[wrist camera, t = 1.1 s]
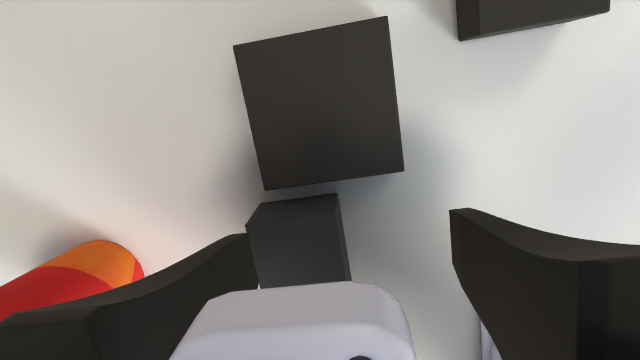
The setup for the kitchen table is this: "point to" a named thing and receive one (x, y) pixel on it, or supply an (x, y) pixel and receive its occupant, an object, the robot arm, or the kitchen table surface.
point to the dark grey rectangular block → (520, 15)
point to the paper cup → (71, 277)
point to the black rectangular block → (299, 242)
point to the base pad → (322, 104)
